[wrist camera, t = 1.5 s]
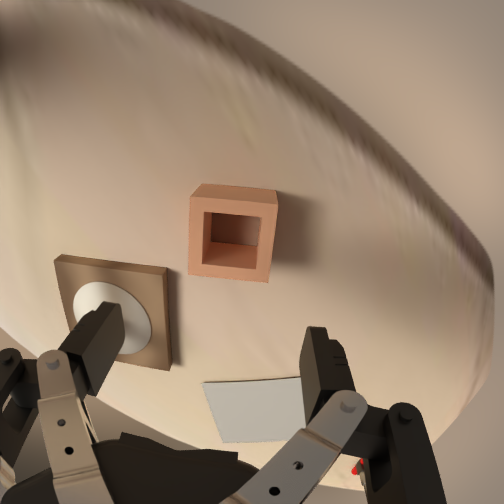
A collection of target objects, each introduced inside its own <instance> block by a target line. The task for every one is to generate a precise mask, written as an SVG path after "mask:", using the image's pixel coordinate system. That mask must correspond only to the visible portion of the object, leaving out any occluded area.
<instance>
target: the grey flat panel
mask: <svg viewBox="0 0 504 504" xmlns="http://www.w3.org/2000/svg"><path fill="white" fill-rule="evenodd" d="M201 384H202V387H203V390H204V393H205V395H206V398H207V401H208V404H209V407H210V410H211V412H212V415H213V418H214V421H215V423H216V426H217V429H218V431H219V434H220V436H221V439H222V442H223V443H252V442H273V441H287V440H290V439H291V438H292V437H293V436H294V434H295V433H296V432H297V431H298V430H299V429H301V428H303V429H304V428H306V423H305V414H304V404H303V395H302V386H301V377H299V378H289V379H277V380H264V381H248V382H223V383H201Z"/></svg>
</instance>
